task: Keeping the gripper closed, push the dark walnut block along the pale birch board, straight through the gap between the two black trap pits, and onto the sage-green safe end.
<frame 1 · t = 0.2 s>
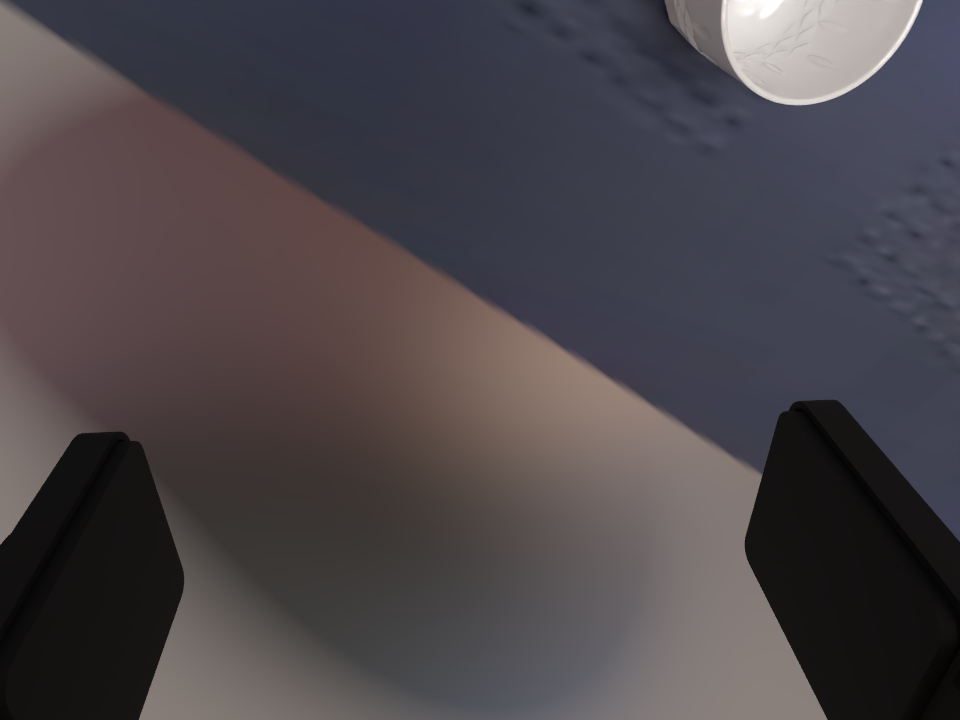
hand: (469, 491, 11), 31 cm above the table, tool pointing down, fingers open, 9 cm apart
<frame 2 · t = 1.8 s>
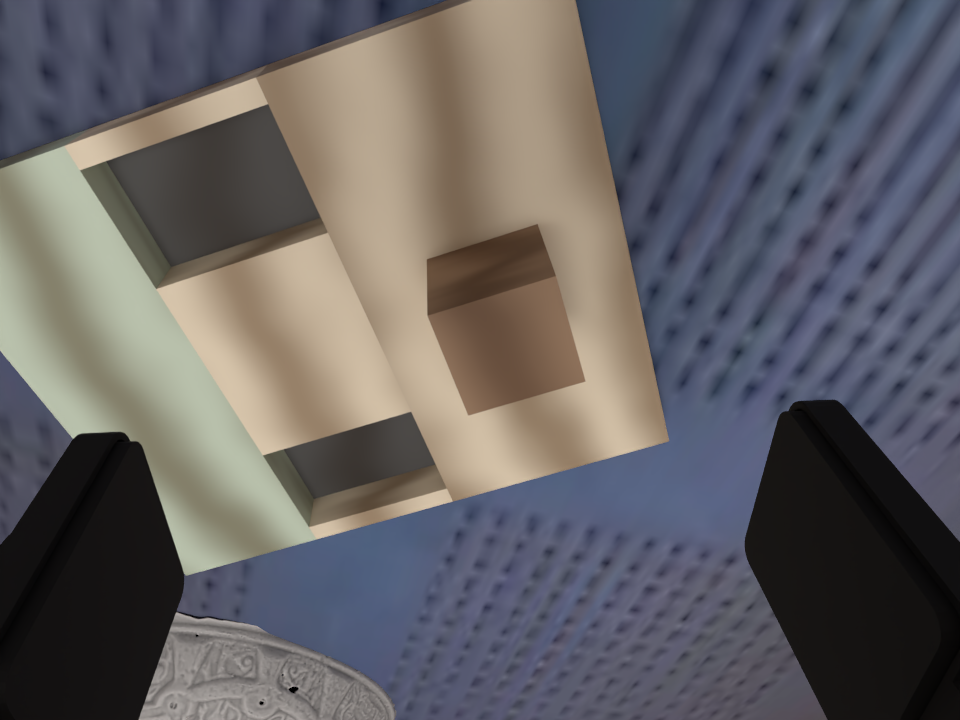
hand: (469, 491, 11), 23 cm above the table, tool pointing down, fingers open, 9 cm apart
embossed grey dome: (243, 687, 52), on the table
walnut block: (498, 290, 32), point 2 cm above the table, touching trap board
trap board: (337, 315, 35), on the table
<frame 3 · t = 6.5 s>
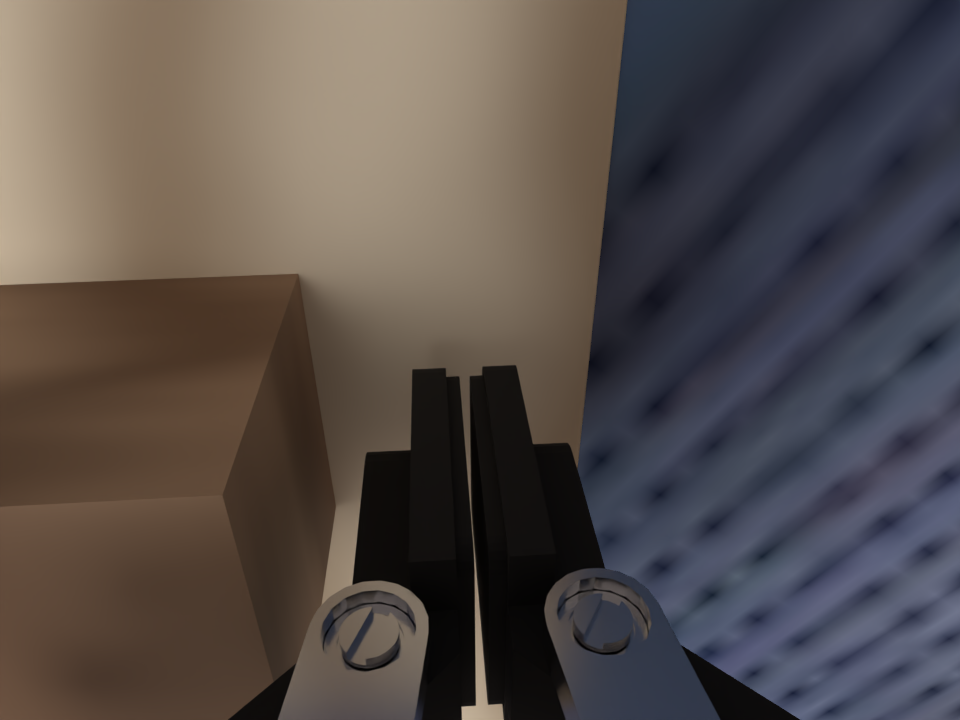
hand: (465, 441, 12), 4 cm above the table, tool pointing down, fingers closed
walnut block: (174, 409, 12), point 2 cm above the table, touching gripper, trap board
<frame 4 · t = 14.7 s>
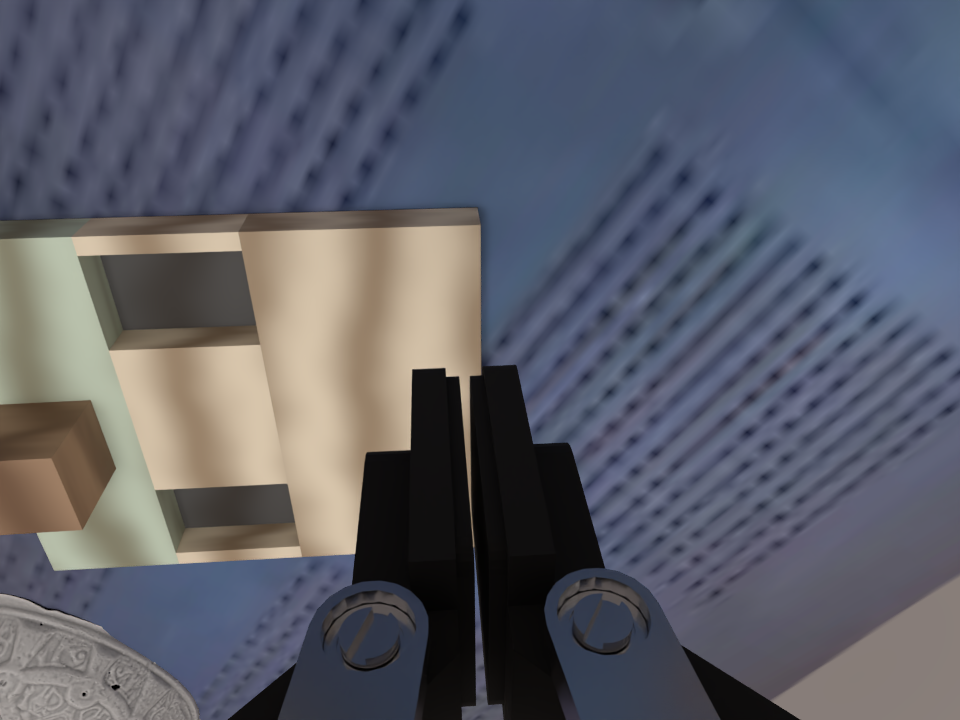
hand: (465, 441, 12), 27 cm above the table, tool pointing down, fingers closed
embossed grey dome: (65, 674, 57), on the table
walnut block: (59, 437, 41), point 2 cm above the table, touching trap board
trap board: (248, 395, 43), on the table
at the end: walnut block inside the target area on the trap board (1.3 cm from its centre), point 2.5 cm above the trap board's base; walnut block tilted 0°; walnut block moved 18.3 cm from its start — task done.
